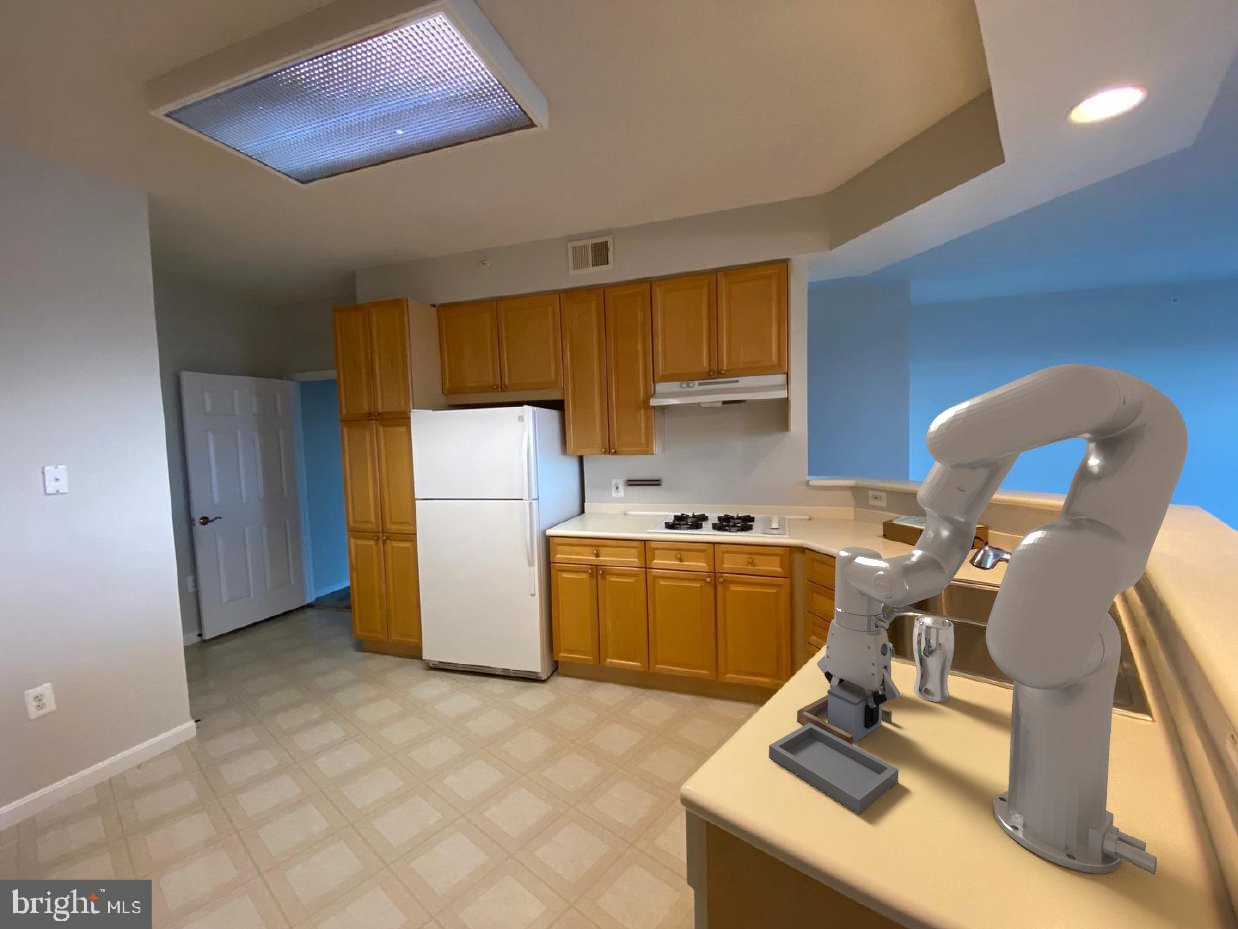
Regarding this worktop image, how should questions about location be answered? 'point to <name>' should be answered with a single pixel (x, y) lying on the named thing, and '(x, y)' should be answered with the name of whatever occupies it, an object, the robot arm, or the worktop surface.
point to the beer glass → (932, 657)
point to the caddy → (849, 709)
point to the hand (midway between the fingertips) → (854, 717)
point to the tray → (834, 766)
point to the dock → (816, 708)
